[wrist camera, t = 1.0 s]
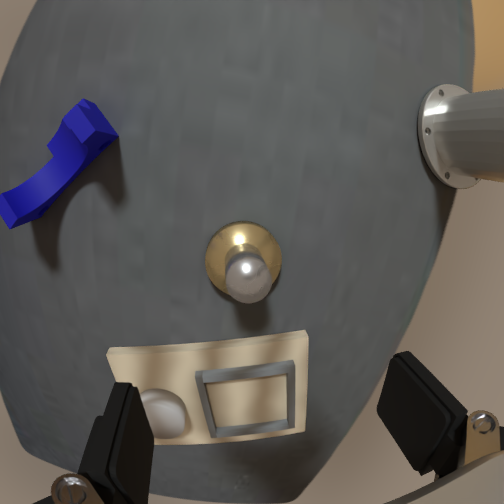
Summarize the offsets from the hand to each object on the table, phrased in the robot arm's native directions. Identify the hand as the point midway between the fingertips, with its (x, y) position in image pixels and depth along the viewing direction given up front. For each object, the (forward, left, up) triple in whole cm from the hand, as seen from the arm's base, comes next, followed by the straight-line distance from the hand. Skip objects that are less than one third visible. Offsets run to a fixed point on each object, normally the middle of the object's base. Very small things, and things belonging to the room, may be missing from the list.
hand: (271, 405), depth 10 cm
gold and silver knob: (-1, +1, -20) cm, 20 cm away
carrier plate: (+4, +18, -20) cm, 27 cm away
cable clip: (+16, -11, -21) cm, 28 cm away
